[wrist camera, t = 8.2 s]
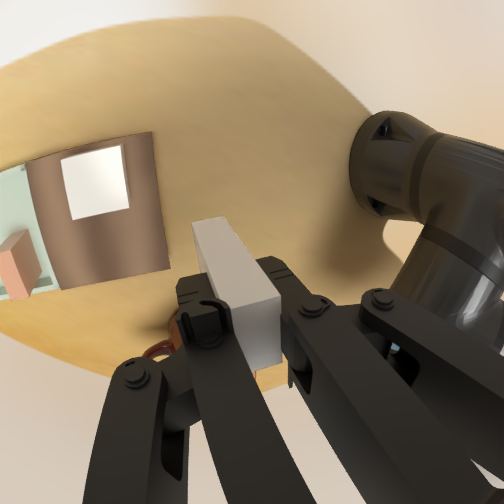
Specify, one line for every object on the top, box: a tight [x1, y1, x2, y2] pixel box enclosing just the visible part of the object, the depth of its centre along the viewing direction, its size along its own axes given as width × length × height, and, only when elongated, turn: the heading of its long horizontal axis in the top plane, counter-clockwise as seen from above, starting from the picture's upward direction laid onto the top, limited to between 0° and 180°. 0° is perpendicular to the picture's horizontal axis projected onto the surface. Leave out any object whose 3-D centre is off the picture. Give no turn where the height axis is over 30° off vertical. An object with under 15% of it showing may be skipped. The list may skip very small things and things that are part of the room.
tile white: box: [61, 144, 131, 220], centre depth 20 cm, size 5×5×2 cm
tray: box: [0, 160, 60, 300], centre depth 20 cm, size 10×13×3 cm
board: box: [26, 132, 171, 290], centre depth 23 cm, size 12×13×3 cm
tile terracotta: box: [0, 229, 42, 301], centre depth 20 cm, size 5×5×2 cm
